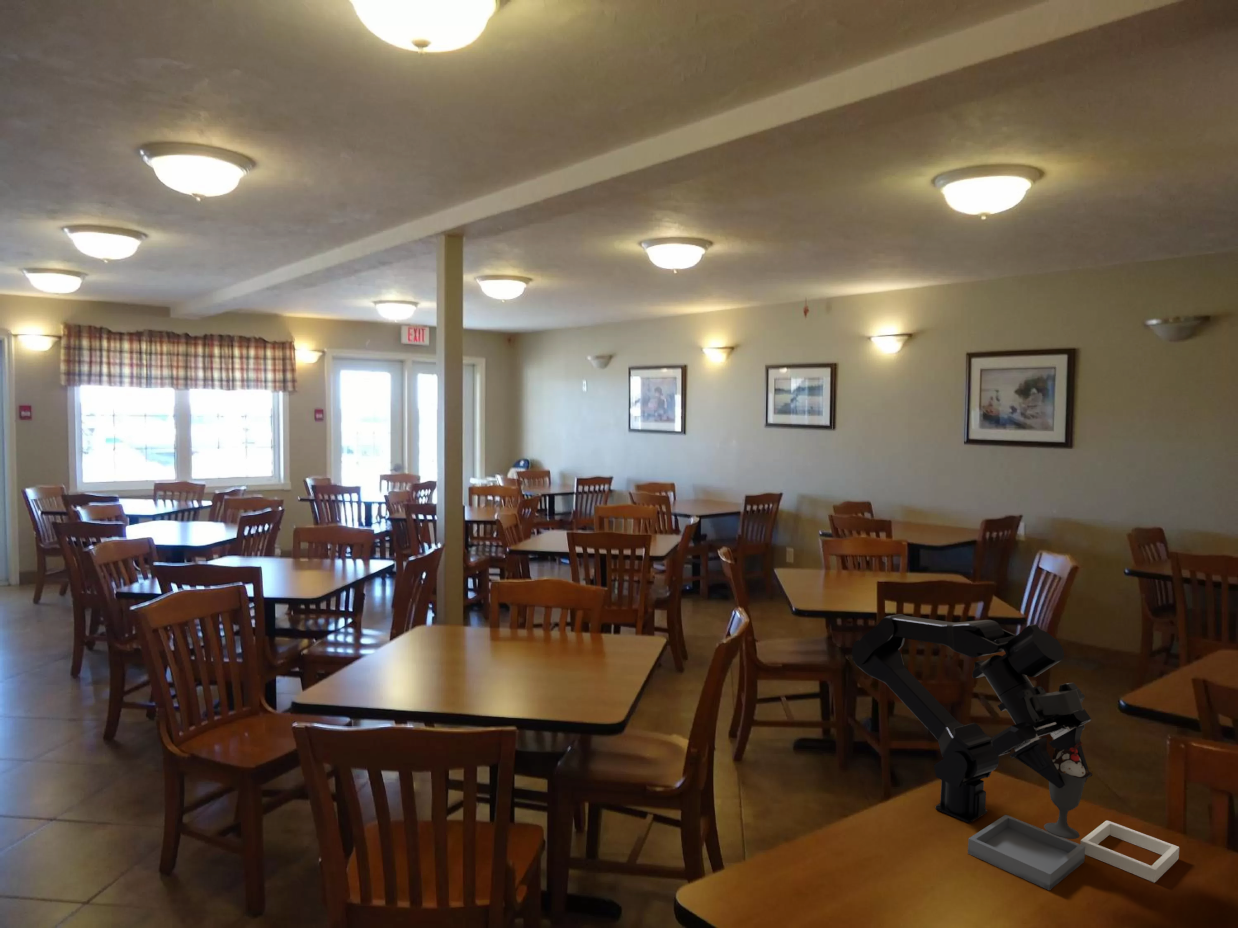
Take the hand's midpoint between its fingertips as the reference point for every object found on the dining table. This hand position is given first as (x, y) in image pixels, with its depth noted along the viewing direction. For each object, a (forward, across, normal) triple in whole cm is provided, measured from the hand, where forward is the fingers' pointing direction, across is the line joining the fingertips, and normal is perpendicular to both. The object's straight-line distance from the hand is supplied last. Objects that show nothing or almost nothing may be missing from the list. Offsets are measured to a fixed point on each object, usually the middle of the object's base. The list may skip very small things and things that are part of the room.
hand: (1075, 782), depth 126 cm
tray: (+6, -4, +13) cm, 15 cm away
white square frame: (+12, +12, +7) cm, 18 cm away
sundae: (+5, -1, +7) cm, 9 cm away
